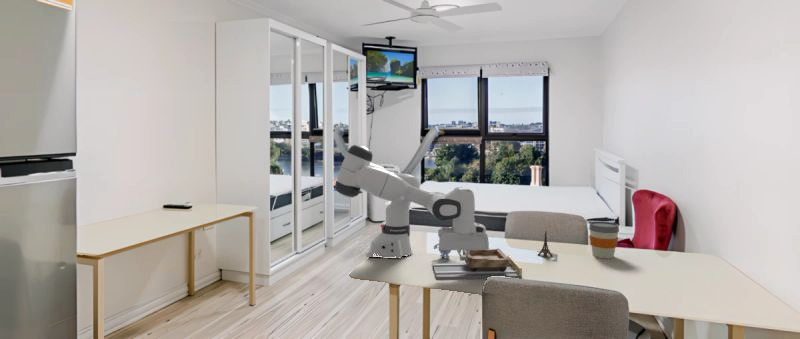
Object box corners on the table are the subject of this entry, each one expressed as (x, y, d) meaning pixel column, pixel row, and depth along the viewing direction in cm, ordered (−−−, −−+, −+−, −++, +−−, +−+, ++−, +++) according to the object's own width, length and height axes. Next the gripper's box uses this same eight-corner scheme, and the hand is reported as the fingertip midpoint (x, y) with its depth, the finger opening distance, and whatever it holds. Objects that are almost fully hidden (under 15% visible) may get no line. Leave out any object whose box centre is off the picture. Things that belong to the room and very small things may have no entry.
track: (436, 279, 170) (436, 269, 170) (432, 265, 188) (432, 256, 188) (521, 278, 171) (522, 268, 170) (509, 264, 189) (509, 255, 188)
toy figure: (432, 259, 197) (432, 233, 196) (434, 255, 203) (434, 230, 202) (455, 260, 195) (456, 234, 194) (457, 256, 201) (457, 231, 200)
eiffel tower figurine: (557, 263, 192) (558, 233, 191) (533, 260, 196) (534, 231, 194) (558, 254, 206) (558, 226, 205) (535, 252, 210) (536, 225, 208)
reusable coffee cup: (611, 252, 206) (612, 221, 205) (622, 260, 194) (623, 227, 192) (584, 251, 207) (585, 221, 206) (593, 259, 195) (594, 227, 194)
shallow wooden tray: (469, 273, 171) (469, 260, 171) (462, 261, 187) (462, 249, 187) (509, 273, 172) (509, 259, 171) (499, 261, 187) (499, 248, 187)
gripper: (439, 228, 172) (439, 262, 173) (489, 228, 172) (489, 262, 173) (437, 225, 178) (437, 258, 180) (486, 225, 179) (486, 257, 180)
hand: (463, 260), depth 177 cm, fingers closed
